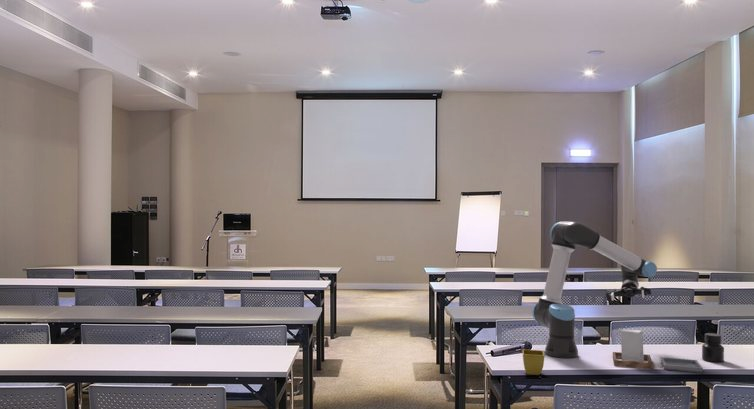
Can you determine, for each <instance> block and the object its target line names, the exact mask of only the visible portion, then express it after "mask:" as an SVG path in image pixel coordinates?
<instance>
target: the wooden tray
mask: <svg viewBox="0 0 754 409" xmlns="http://www.w3.org/2000/svg"><path fill="white" fill-rule="evenodd" d="M643 354H644V353H643ZM612 361H613V366H614V367H623V366H626V367H625V368H638V369H648V370H654V362H653V359H652V357H651V355H650V354H644V362H637V361H625V360H622V351H621V352H620V351H619V352H618V351H612Z"/></svg>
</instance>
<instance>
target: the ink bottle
mask: <svg viewBox="0 0 754 409" xmlns="http://www.w3.org/2000/svg"><path fill="white" fill-rule="evenodd" d="M701 351H702V352H701V358H702V360H703V361H706V362H710V363H722V362H725V348H724V346H723V345H722V335H721V334H719V333H712V332H707V333H704V344H702V346H701Z"/></svg>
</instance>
